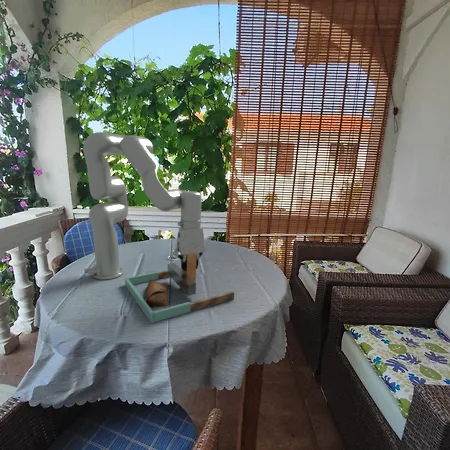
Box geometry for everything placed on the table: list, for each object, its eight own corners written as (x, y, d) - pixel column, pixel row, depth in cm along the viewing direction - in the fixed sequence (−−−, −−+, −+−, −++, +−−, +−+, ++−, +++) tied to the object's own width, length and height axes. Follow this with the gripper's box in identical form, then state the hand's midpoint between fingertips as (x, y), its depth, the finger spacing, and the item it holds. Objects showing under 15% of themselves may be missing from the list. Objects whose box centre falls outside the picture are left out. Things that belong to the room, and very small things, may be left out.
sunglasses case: (170, 306, 100) (159, 291, 98) (152, 317, 100) (142, 302, 98) (169, 284, 117) (160, 272, 115) (154, 293, 117) (145, 281, 115)
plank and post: (188, 295, 104) (189, 260, 101) (167, 273, 120) (168, 242, 117) (205, 291, 108) (207, 257, 105) (182, 271, 124) (183, 240, 121)
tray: (151, 322, 90) (151, 314, 89) (125, 284, 116) (124, 277, 116) (190, 311, 97) (190, 303, 96) (157, 278, 124) (157, 271, 123)
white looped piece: (176, 254, 156) (176, 247, 156) (187, 257, 152) (187, 250, 151) (164, 258, 149) (164, 251, 149) (175, 261, 145) (175, 254, 144)
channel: (190, 311, 97) (190, 304, 97) (157, 278, 124) (157, 272, 123) (234, 298, 107) (234, 292, 106) (194, 270, 133) (194, 265, 133)
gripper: (174, 228, 102) (173, 276, 106) (214, 224, 111) (212, 268, 115) (166, 223, 108) (166, 269, 112) (205, 220, 117) (203, 262, 121)
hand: (189, 268), depth 113 cm, fingers closed on plank and post, 4 cm apart
